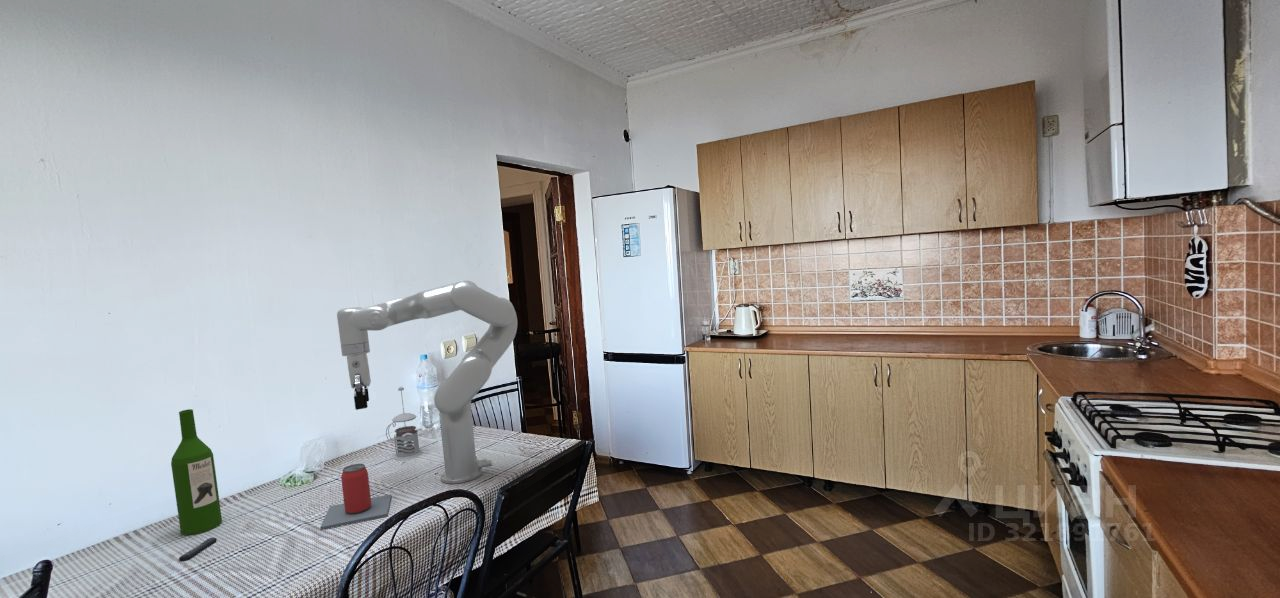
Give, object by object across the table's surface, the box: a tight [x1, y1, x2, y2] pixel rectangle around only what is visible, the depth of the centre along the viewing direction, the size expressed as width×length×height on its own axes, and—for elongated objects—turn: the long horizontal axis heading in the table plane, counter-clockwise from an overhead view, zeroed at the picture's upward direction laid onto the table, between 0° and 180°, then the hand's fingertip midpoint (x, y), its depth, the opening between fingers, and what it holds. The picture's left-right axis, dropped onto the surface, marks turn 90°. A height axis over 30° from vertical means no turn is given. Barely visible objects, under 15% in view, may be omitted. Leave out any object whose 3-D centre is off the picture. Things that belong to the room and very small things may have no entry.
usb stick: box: [178, 537, 217, 562], centre depth 139 cm, size 10×3×2 cm, turn 179°
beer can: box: [340, 463, 372, 514], centre depth 155 cm, size 7×7×12 cm
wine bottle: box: [170, 408, 223, 536], centre depth 152 cm, size 9×9×32 cm
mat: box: [320, 494, 392, 531], centre depth 155 cm, size 16×14×1 cm
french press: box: [385, 386, 424, 461], centre depth 200 cm, size 10×12×25 cm
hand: (362, 405), depth 168 cm, fingers open, 9 cm apart
